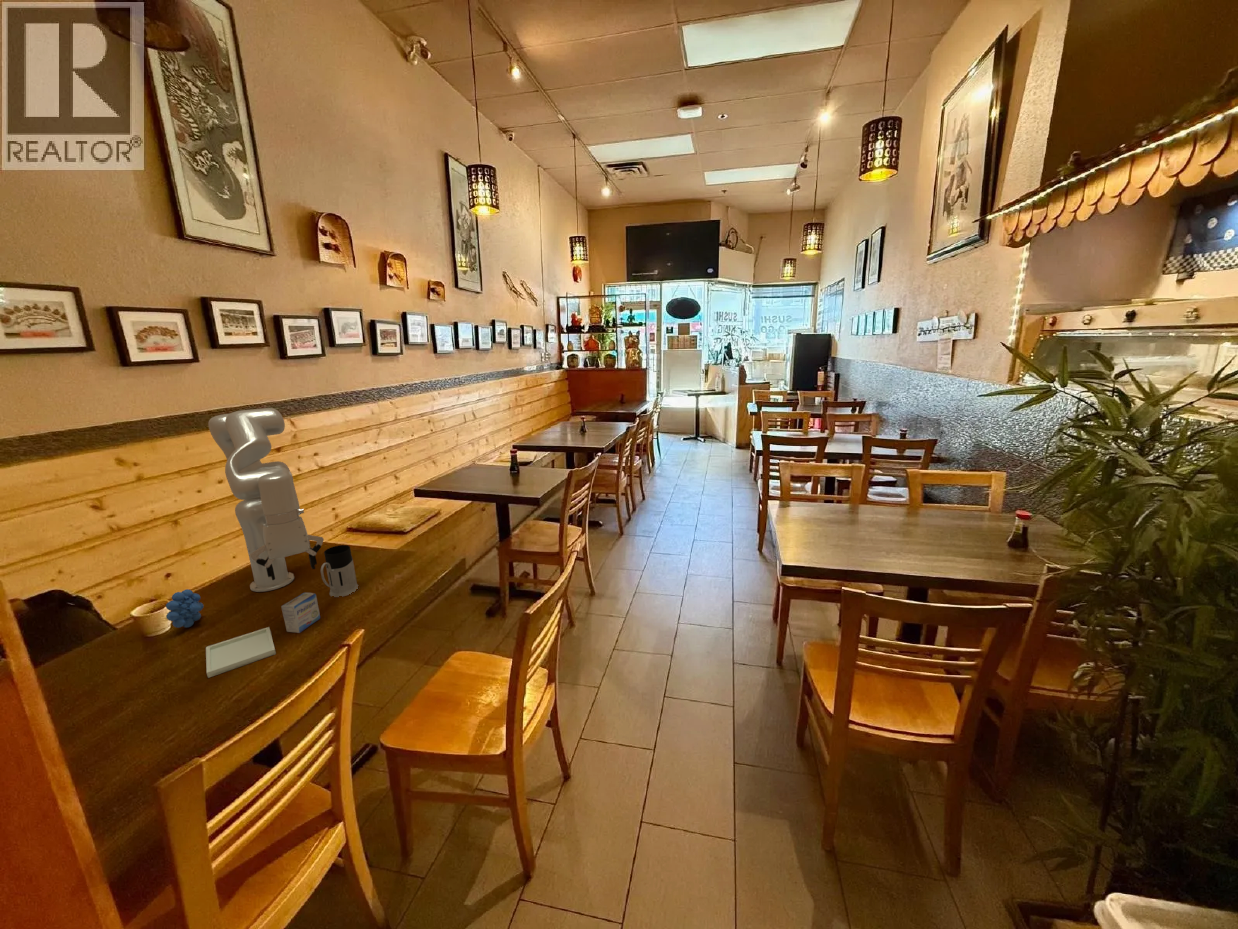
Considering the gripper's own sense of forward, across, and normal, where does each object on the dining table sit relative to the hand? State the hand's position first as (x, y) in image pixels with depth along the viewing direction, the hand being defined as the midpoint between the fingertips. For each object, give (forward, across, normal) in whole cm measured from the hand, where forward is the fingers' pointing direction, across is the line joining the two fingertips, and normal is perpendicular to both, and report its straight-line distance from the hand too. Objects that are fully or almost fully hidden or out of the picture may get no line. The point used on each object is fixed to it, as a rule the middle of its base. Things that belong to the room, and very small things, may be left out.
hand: (293, 572), depth 135 cm
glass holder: (+17, -12, -14) cm, 25 cm away
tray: (+17, +15, +4) cm, 23 cm away
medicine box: (+18, 0, 0) cm, 18 cm away
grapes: (+17, +25, -22) cm, 38 cm away
